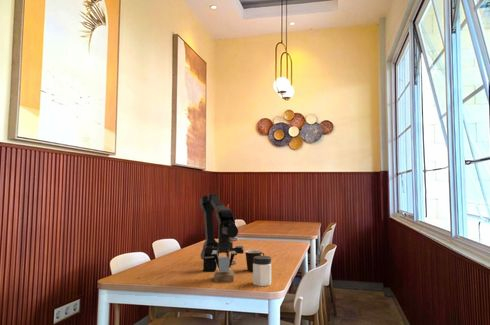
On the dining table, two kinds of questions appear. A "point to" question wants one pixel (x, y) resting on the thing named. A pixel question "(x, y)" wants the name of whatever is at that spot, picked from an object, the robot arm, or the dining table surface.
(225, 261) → the block
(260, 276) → the jar
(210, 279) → the dining table surface
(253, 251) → the coffee mug
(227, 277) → the base
